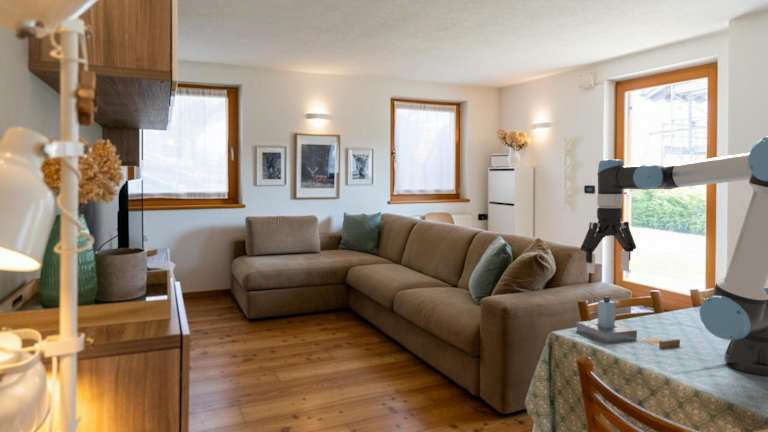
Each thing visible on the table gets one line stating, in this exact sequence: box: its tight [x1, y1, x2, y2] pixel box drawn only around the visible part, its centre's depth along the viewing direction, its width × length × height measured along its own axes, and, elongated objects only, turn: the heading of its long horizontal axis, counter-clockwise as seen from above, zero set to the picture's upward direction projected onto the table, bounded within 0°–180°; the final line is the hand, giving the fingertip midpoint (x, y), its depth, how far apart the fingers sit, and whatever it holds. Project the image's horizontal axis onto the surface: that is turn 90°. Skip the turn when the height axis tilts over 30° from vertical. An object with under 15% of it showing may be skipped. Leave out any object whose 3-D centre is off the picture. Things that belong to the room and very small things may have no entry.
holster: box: [639, 337, 681, 349], centre depth 163 cm, size 9×7×3 cm
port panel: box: [576, 319, 638, 344], centre depth 171 cm, size 14×12×4 cm
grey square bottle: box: [597, 295, 616, 329], centre depth 171 cm, size 4×4×14 cm
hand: (608, 271), depth 169 cm, fingers open, 13 cm apart
